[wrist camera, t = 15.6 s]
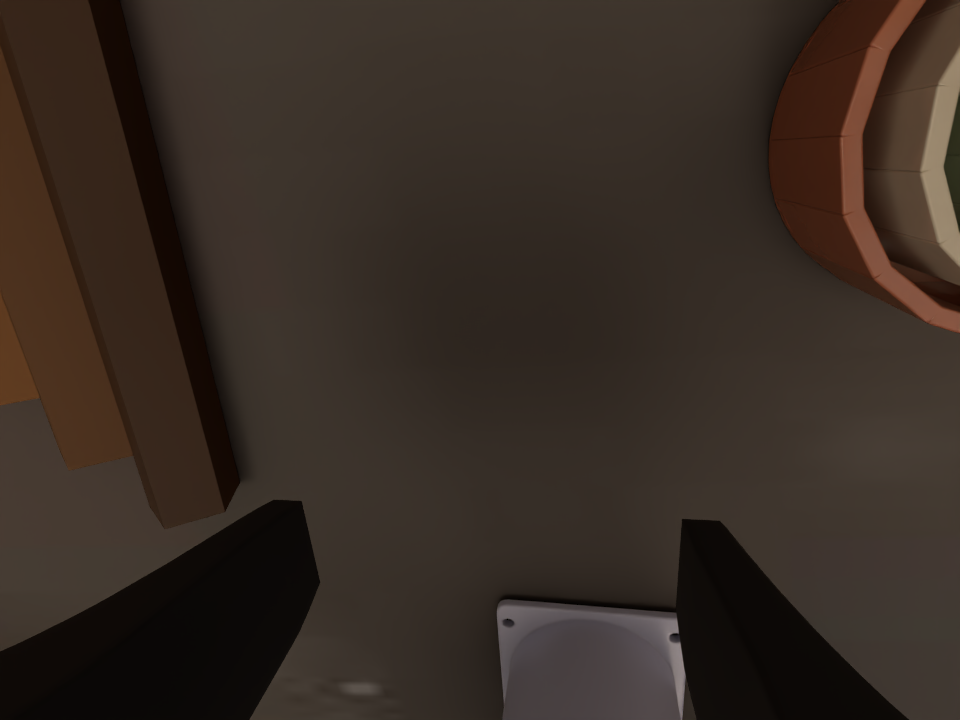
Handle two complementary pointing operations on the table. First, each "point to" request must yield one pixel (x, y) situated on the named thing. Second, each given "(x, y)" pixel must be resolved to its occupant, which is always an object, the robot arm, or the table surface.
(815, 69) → the stack base cup
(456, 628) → the table surface
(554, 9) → the table surface
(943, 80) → the stack top cup
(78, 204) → the pan flute
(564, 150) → the table surface
